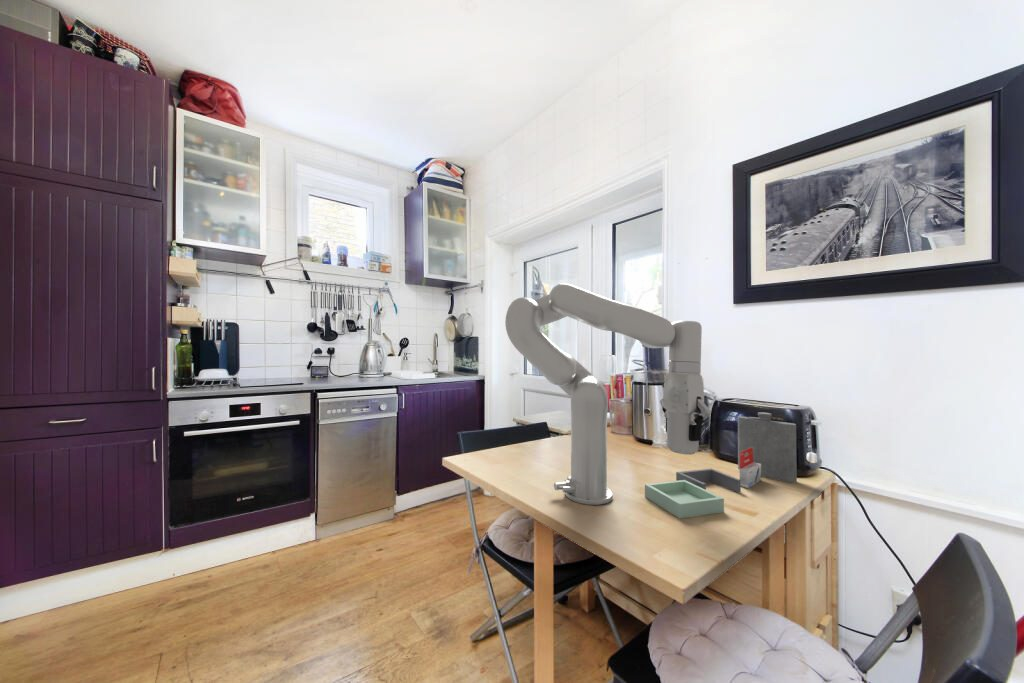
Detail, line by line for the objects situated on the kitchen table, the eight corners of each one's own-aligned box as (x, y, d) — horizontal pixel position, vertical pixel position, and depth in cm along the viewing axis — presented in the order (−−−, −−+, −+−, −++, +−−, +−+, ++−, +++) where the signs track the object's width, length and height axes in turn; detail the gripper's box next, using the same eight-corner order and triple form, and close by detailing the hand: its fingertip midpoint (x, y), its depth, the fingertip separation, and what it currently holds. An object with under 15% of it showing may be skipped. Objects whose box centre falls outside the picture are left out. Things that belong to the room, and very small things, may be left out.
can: (704, 456, 89) (705, 407, 89) (673, 454, 89) (675, 406, 89) (689, 447, 96) (691, 403, 96) (661, 446, 96) (663, 402, 97)
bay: (703, 497, 96) (702, 484, 96) (676, 483, 106) (676, 472, 106) (740, 492, 100) (740, 479, 100) (711, 479, 110) (711, 468, 110)
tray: (680, 518, 84) (680, 504, 84) (644, 496, 97) (644, 484, 97) (723, 511, 88) (723, 498, 88) (684, 491, 100) (684, 479, 100)
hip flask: (798, 481, 109) (797, 415, 110) (793, 484, 107) (793, 417, 107) (740, 467, 122) (740, 408, 123) (735, 469, 120) (735, 409, 120)
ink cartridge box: (761, 480, 110) (761, 448, 110) (748, 488, 103) (748, 454, 103) (752, 478, 112) (751, 446, 112) (738, 486, 105) (738, 452, 105)
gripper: (650, 366, 100) (648, 429, 100) (698, 370, 84) (697, 446, 83) (672, 366, 102) (670, 428, 102) (724, 371, 86) (722, 445, 85)
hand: (682, 436), depth 93 cm, fingers closed on can, 7 cm apart
